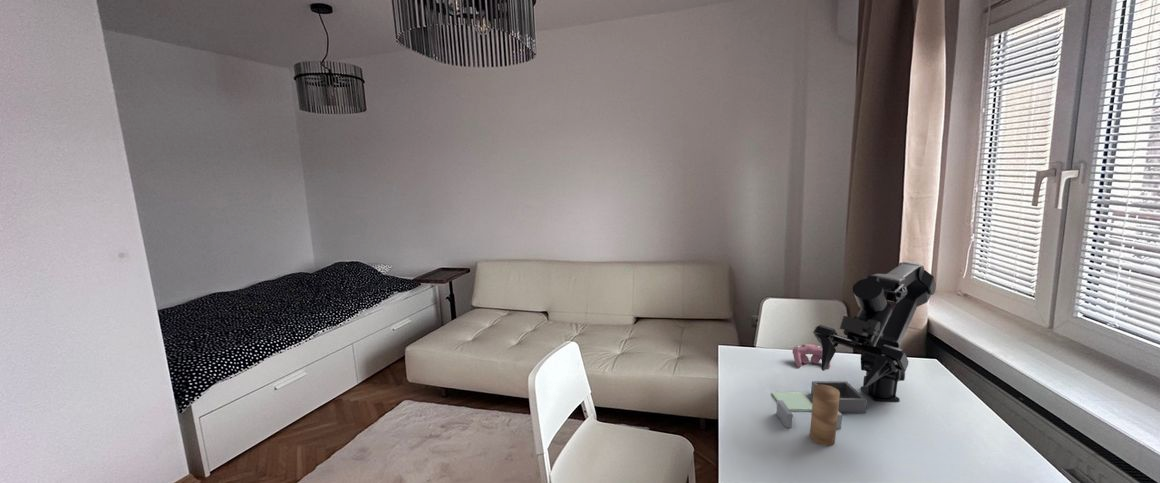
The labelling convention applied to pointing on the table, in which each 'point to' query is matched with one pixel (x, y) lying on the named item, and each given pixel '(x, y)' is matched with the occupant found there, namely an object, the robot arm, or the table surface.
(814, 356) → the video game controller
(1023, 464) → the table surface
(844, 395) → the gray open box
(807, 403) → the pad
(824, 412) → the walnut post
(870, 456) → the table surface
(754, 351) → the table surface
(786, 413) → the channel
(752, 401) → the table surface
